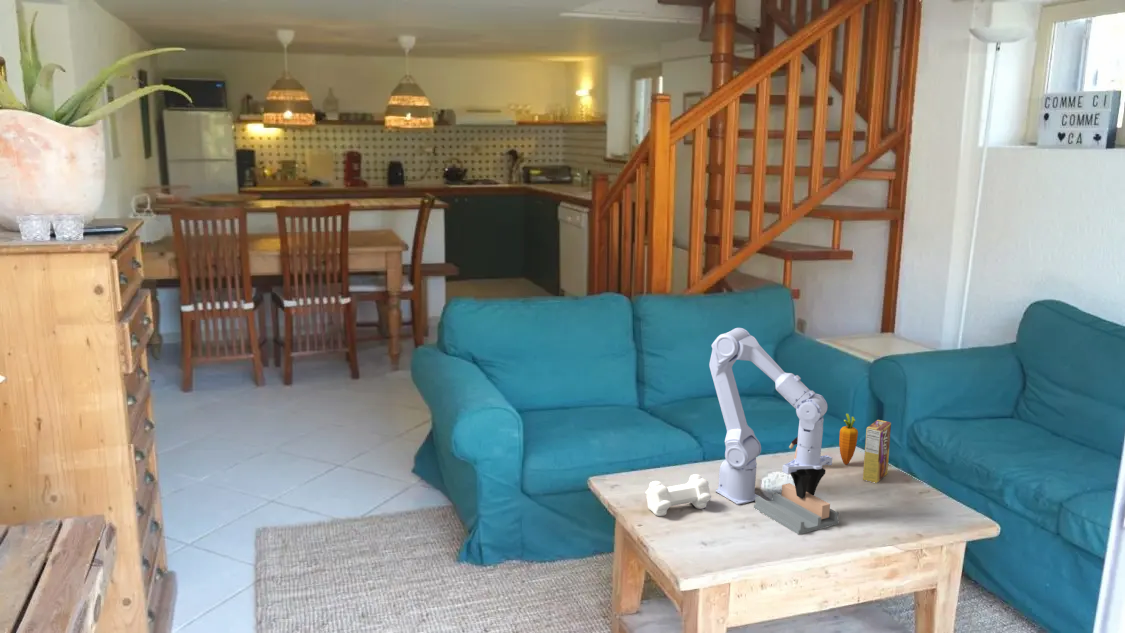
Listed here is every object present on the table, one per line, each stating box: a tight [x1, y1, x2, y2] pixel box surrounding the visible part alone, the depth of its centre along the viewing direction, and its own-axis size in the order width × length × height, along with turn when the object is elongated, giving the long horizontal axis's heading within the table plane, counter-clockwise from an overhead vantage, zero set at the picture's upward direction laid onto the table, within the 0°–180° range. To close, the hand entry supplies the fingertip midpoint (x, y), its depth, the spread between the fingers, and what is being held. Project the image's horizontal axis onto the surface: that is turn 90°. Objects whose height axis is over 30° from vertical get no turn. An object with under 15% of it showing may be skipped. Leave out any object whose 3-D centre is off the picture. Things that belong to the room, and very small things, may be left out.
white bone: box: [644, 473, 712, 517], centre depth 214 cm, size 15×9×8 cm, turn 114°
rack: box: [753, 492, 840, 535], centre depth 212 cm, size 16×13×3 cm
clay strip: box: [780, 482, 831, 519], centre depth 212 cm, size 14×2×4 cm, turn 28°
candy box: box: [862, 419, 892, 484], centre depth 236 cm, size 9×4×15 cm, turn 141°
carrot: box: [838, 413, 859, 466], centre depth 244 cm, size 5×5×15 cm
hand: (805, 495), depth 212 cm, fingers closed on clay strip, 2 cm apart
